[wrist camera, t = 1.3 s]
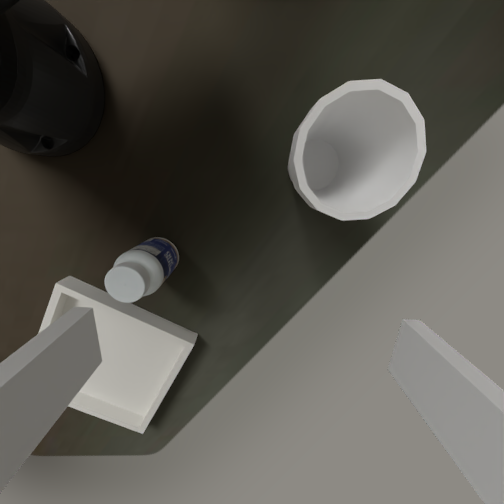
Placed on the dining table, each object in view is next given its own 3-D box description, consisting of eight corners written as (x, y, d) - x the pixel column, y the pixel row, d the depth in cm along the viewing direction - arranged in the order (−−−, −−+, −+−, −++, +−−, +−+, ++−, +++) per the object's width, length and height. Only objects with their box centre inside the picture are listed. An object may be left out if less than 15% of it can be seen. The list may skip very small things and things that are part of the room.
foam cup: (317, 218, 31) (361, 243, 19) (260, 176, 30) (268, 173, 17) (366, 155, 29) (454, 137, 16) (308, 106, 27) (357, 44, 15)
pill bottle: (176, 277, 33) (148, 314, 24) (138, 268, 33) (95, 302, 24) (183, 241, 32) (155, 266, 23) (143, 231, 31) (98, 253, 22)
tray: (33, 375, 38) (19, 388, 36) (69, 275, 33) (55, 282, 31) (149, 419, 41) (142, 433, 39) (198, 333, 36) (194, 344, 34)
